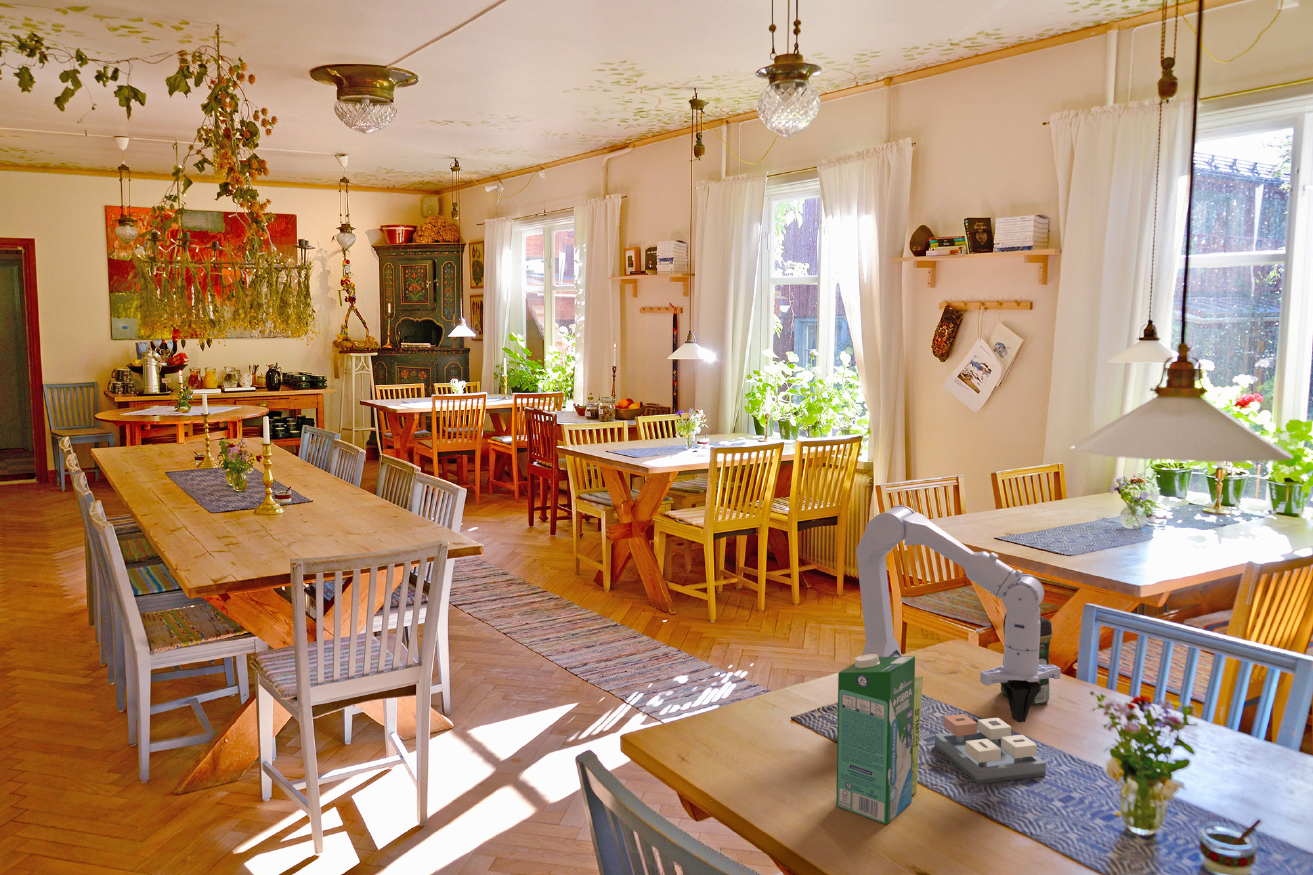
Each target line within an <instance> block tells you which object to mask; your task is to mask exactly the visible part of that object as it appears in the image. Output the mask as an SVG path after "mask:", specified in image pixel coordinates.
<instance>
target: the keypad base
mask: <svg viewBox="0 0 1313 875" xmlns="http://www.w3.org/2000/svg"><path fill="white" fill-rule="evenodd" d="M980 739H988V740H990V739H989V738H987V737H986V736H985V735H983V734H982V733H981V732H979V731H978V729H977V734H972V735H964V742H957V741H956V736H955V735H954V734H952V733H951V732H947V733H938V734H934V748H935V749H936V750H938V751H939V752H940V754H942V755H943V756H944V757H946V759H948V760H949V761H950V762H951V763H953V764H954V766H956V767H957V768H958V769H959V770H961V771H962V772H963V773H964V774H965V775H966V776H967V777H968V778H970V779H971V780H973V782H975V783H976V784H977V785H982V784H990V783H991V784H992V783H999V782H1009V781H1014V780H1022V779H1023V780H1024V779H1032V778H1039V777H1046V773H1047V772H1046V771H1047V770H1046V769H1047V768H1046V767H1047V763H1046V761H1044V760H1043V759H1041V758H1040V757H1039V756H1038V755H1037V756H1031V757H1023V761H1022V763H1014V757H1013V756H1011V755H1010V754H1009V753H1007V752H1006V751H1005V750H1003V749H1002V748H1001V739H998V745H997V746H998V747H999V748H1000V749H1001V760H997V761H989V762H987V767H981V768H980V767H979V766H978V762H977V761H976V760H975V759H974V758H972V757H971V756H970V755H969V754H967V753H966V752H965V751H966V741H971V740H980Z"/></svg>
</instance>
